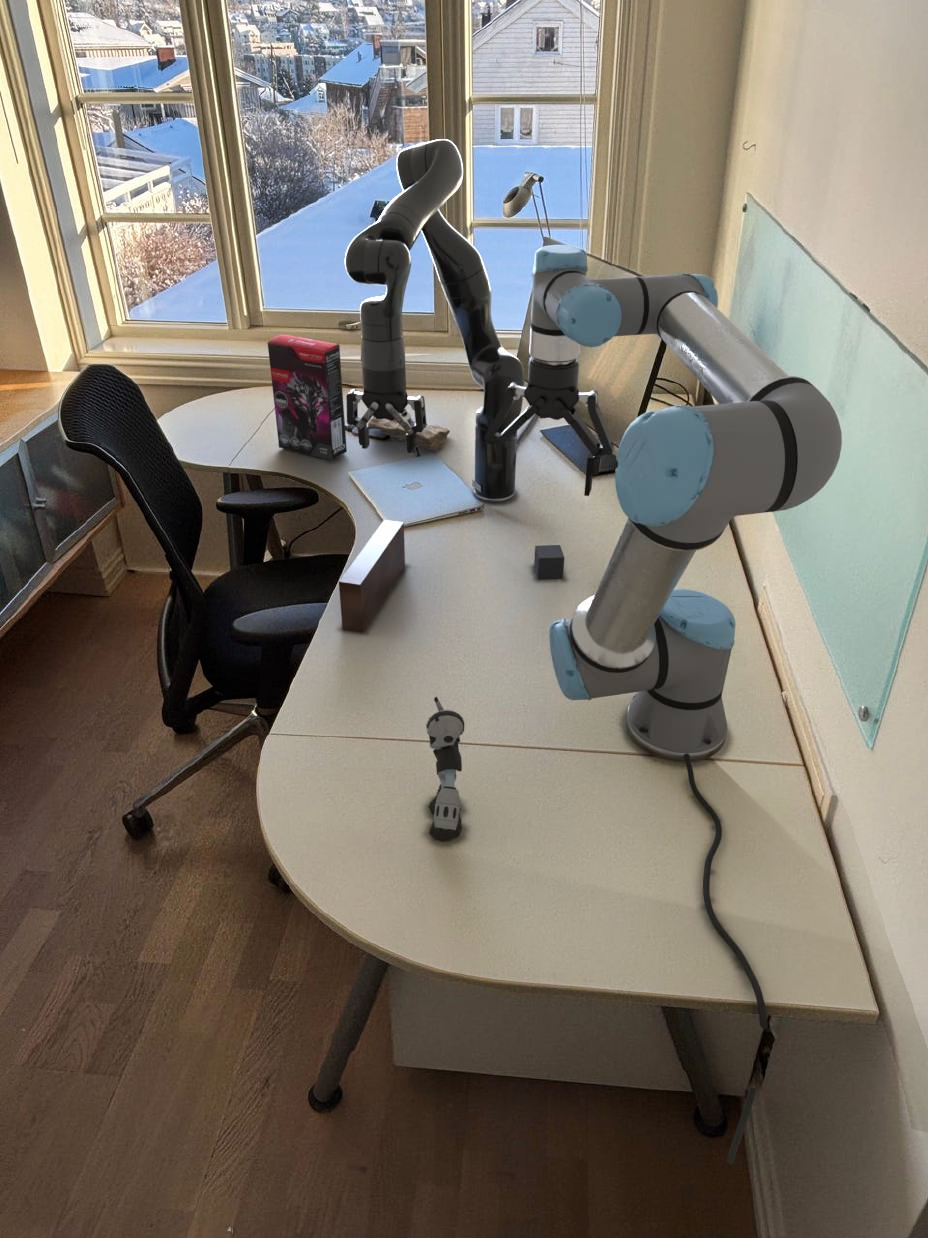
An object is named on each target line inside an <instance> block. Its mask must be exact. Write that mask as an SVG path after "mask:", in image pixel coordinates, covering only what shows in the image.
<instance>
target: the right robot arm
mask: <svg viewBox="0 0 928 1238" xmlns="http://www.w3.org/2000/svg"><path fill="white" fill-rule="evenodd" d="M533 258H534V259H533V267H532V272H531V277H532V284H531V287H532V288H531V311H530V329H529V348H528V354H529V356H530V358H529V359H528V368H527V369H528V372H527V385H526V386H524V387H522V386H518V385H517V383H515V382H512V383H511V384H510V385H509V387H508V388H507V391H506V398H505V402H504V403H503V405H502V407H501V409H500V410H499V412H498V414H497V416H496V417H495V419H494V421H493V423H492V424H491V426H490V428H489V430H488V431H487V433H486V435H485V440H486V441H491V442H493V443H494V444H495V445H496V463H497V464H502V469H501V485H504V486H506V484H507V482H508V480H509V471H510V445H511V442H509V441H507V440H508V439H509V438H510V437H511V436H512V435H513V434H514V433H515V432H516V431H517V432H518V431H519V430H520V428H521V427H523V426H524V424H526V422H528V421H530V420H531V419H532V417H533V416H534V414H536V415H537V416H536V417H539V419H552V420H553V421H554V420H556V421H560V420H562V419H564V420H565V422H566V423H567V424H568V425H569V426H571V428H572V429H573V431H574V432H575V434H576V435H577V436H578V438H579V439H580V440H581V441H582V443H583V444H584V446H585V447H586V449H587V450H588V451H589V452H588V455H587V461H586V471H585V480H584V481H585V483H584V494H583V495H584V497H590V494H591V492H592V487H593V478H594V477H593V476H596V477H597V476H598V475H599V474H600V471H601V467H602V466H601V465H602V457H603V456H605V455H606V456H610V455H612V454H613V452H614V449H615V442H614V440H613V437H612V435H611V432H610V430H609V428H608V425H607V422H606V420H605V418H604V415H603V412H602V410H601V408H600V406H599V393H598V391H597V390H596V389H592V390H590V392H580V391H579V387H578V383H579V370H580V360H579V359H578V358H579V357H580V355H581V346H583V347H587V348H596V347H601V346H602V345H604V344H606V343H607V342H609V341H611V340H612V339H613V338H615V337H626V336H627V337H628V336H642V335H643V336H644V335H657V336H658V337H659V338H660V340H662V341H663V342H664V343H665V345H667V346H668V348H670V350H671V351H672V352H673V353H674V354H675V356H676V357H678V359H679V360H680V361H681V362H682V363H683V365H684V366H685V367H686V368H687V369H688V370H689V371H690V372H691V373H692V375H693V376H694V377H695V378H696V379H697V381H699V383H700V384H701V385H702V386H703V387H704V389H705V390H707V392H708V393H709V394H710V395H711V396H712V398H713V399H714V400H715V401H716V402H717V403H718V404H705V405H694V406H691V405H687V404H678V405H677V404H675V405H671V406H668V407H666V408H662V409H653V410H649V411H647V412H644V413H642V414H640V415H639V416H638V417H636V418H635V419H634V420H633V421H632V422H631V423H630V424H629V426H628V427H627V428H626V430H625V432H624V433H623V436H621V437H622V438H621V440H620V443H619V446H618V449H617V454H616V458H615V459H616V461H617V467H616V468H615V469H614V471H615V472H614V482H615V491H616V495H617V500H618V503H619V505H620V507H621V509H622V511H623V513H624V514H625V516H626V517H627V520H626V522H625V525H624V526H623V529H622V532H621V534H620V536H619V538H618V541H617V543H616V545H615V547H614V550H613V552H612V554H611V557H610V559H609V561H608V564H607V566H606V567H605V571H604V573H603V575H602V577H601V580H600V581H599V584H598V586H597V589H596V590H595V594H594V595H592V596H590V597H587V598H586V599H585V600H583V602H581V603H580V604H579V605H578V606H577V608H576V609H575V612H574V613H573V615H572V618H568V619H566V618H565V617H564V618H560V619H557V620H555V621H553V622H552V623H551V624H550V626H549V631H548V632H549V634H548V635H549V639H548V640H549V650H550V656H551V662H552V666H553V671H554V675H555V678H556V682H557V684H558V687H559V689H560V691H561V693H562V695H563V696H564V697H565V698H567V699H568V700H570V701H583V700H584V701H585V700H587V701H591V700H592V699H599V698H606V697H613V696H620V695H626V694H632V693H636V694H634V695H633V697H632V698H631V700H630V701H631V702H630V704H629V705H628V707H627V711H626V719H625V728H626V732H627V734H628V736H629V738H630V739H631V741H632V742H634V744H636V745H637V746H638V747H639V748H640V749H641V750H643V751H645V752H646V753H648V754H650V755H651V756H654V757H656V758H659V759H662V760H666V761H670V762H675V763H684V764H685V766H686V770H687V775H688V783H689V786H690V789H691V792H692V793H693V795H694V797H695V799H696V800H697V801H698V802H699V804H700V805H701V806H702V808H703V809H704V810H705V811H706V812H707V813H708V815H709V816H710V817H711V819H712V821H713V823H714V827H715V828H714V829H715V835H714V839H713V842H712V844H711V846H710V848H709V850H708V852H707V854H706V857H705V860H704V866H703V867H704V868H703V875H702V876H703V877H702V896H703V897H702V898H703V902H704V907H705V909H706V913H707V916H708V918H709V920H710V923H711V924H712V926H713V927H714V929H715V930H716V932H717V933H718V935H719V936H720V937H721V938H722V939H723V942H725V943H726V944H727V945H728V947H729V948H730V950H731V951H732V952H733V954H734V955H735V956H736V958H737V959H738V961H739V963H740V965H741V967H742V968H743V971H744V973H745V975H746V976H747V978H748V980H749V982H750V986H751V987H752V990H753V993H754V996H755V1000H756V1005H757V1010H758V1017H759V1018H758V1019H759V1026H760V1027H761V1029H762V1030H767V1029H768V1026H769V1025H768V1015H767V1008H766V1003H765V999H764V995H763V992H762V989H761V986H760V984H759V982H758V979H757V977H756V975H755V973H754V971H753V969H752V967H751V965H750V963H749V961H748V959H747V957H746V955H745V954H744V952H743V951H742V950H741V948H740V947H739V946H738V944H737V943H736V942H735V941H734V939H733V938H732V937H731V936H730V934H728V931H726V930H725V928H724V927H723V926H722V924H721V922H720V920H718V917H717V915H716V912H715V910H714V907H713V904H712V900H711V891H710V884H711V872H712V865H713V860H714V857H715V855H716V852H717V851H718V849H719V846H720V844H721V842H722V837H723V827H722V823H721V820H720V818H719V816H718V814H717V813H716V811H715V810H714V809H713V807H712V806H711V805H710V803H708V801H707V800H706V799H705V798H704V797H703V795H702V794H701V792H700V791H699V789H698V787H697V784H696V779H695V773H694V769H693V765H692V763H694V762H700V761H703V760H706V759H709V758H711V757H714V755H716V754H718V752H720V751H721V750H722V748H723V747H724V744H725V743H726V740H727V739H726V738H727V734H728V721H727V716H726V712H725V708H724V707H725V706H724V701H723V692H724V686H725V682H726V678H727V674H728V673H727V672H728V668H729V664H730V659H731V654H732V651H733V650H732V649H733V648H734V645H735V637H736V636H735V635H736V618H735V616H734V614H733V612H732V611H731V609H730V608H729V607H728V606H727V605H726V604H725V603H723V602H722V601H720V600H719V599H717V598H715V596H712V595H709V594H707V593H704V592H701V591H699V590H698V591H697V590H694V589H689V588H688V589H687V588H676V587H677V585H678V583H679V582H680V580H681V577H682V576H683V574H684V573H685V571H686V570H687V568H688V566H689V564H690V562H691V561H692V558H693V557H694V555H695V554H696V552H697V551H699V550H702V549H706V548H708V547H710V546H711V545H713V544H714V543H715V542H717V541H718V539H720V537H721V536H722V535H723V533H724V531H725V530H726V528H727V527H728V525H729V523H730V522H731V520H732V519H733V518H735V517H738V516H747V515H755V514H756V515H757V514H764V513H774V512H780V511H787V510H791V509H793V508H796V507H798V506H800V505H802V504H804V503H805V502H808V501H809V500H810V499H812V498H813V497H815V495H817V494H818V493H819V492H820V491H821V490H822V489H823V488H824V487H825V486H826V485H827V483H828V482H829V481H830V479H831V477H832V476H833V475H834V473H835V471H836V468H837V465H838V463H839V461H840V459H841V451H842V445H843V440H842V439H843V438H842V437H843V435H842V434H843V433H842V428H841V425H840V424H841V423H840V419H839V418H838V415H837V412H836V409H834V407H833V406H832V404H831V402H830V401H829V399H827V397H826V396H824V394H823V393H822V392H821V391H820V390H819V389H818V388H817V387H816V386H815V385H813V383H811V382H810V381H809V380H807V379H805V378H804V377H802V376H801V377H800V376H797V375H789V374H787V373H786V372H785V370H783V368H781V367H780V366H779V365H778V364H777V363H776V362H775V361H774V360H773V359H772V358H771V357H770V356H769V355H768V354H767V353H765V352H764V351H763V350H762V349H761V348H760V347H759V346H758V345H757V344H756V343H754V341H752V340H751V339H750V338H749V337H748V336H747V335H746V334H745V333H744V332H743V331H742V330H741V329H740V328H738V326H736V324H734V323H733V322H732V320H730V318H728V317H727V316H726V315H725V314H724V313H723V312H722V311H721V310H720V309H718V308H719V307H718V306H719V295H718V294H719V293H718V290H717V288H715V282H714V280H713V279H712V277H710V276H709V275H707V274H704V273H703V274H702V273H701V274H700V273H688V272H683V273H682V272H680V273H676V274H664V275H663V274H662V275H646V276H627V277H606V278H591V277H589V276H588V275H587V273H588V271H589V266H588V253H587V251H586V250H585V249H584V248H582V247H580V246H576V245H569V244H552V245H545V246H541V247H539V248H538V249H537V250H536V252H535V253H534V257H533ZM522 395H523V398H525V400H526V402H527V404H528V405H527V407H526V408H525V409H524V410H523V411H521V413H520V415H519V416H518V417H517V418H516V419H515V420H514V421H513V422H512V423H511V424H510V425H509V426H508V427H507V428H506V429H505V430H504V431H503V432H502V433H501V434H500V433H497V430H498V428H499V426H500V425H501V423H502V421H503V419H504V418H505V416H506V414H507V413H508V411H509V409H510V407H511V406H512V404H513V402H514V400H518V399H519V398H520V396H522ZM578 402H581V403H582V405H583V407H584V408H587V412H588V415H589V418H590V420H591V423H592V426H593V427H594V430H595V432H596V435H597V437H598V438H597V437H596V435H594V433H593V431H592V430H591V429H590V427H589V426H588V425H587V423H586V422H585V421H584V420H583V418H582V416H581V415H580V413H579V411H578V409H577V408H576V407H575V406H576V405H577V404H578ZM756 1094H757V1088H756V1087H751V1086H749V1088H748V1090H747V1094H746V1099H745V1102H744V1105H743V1109H742V1112H741V1115H740V1118H739V1120H738V1123H737V1126H736V1129H735V1133H734V1134H733V1139H732V1142H731V1144H730V1148H729V1150H728V1154H727V1158H726V1163H727V1164H728V1165H730V1166H731V1165H733V1164H734V1162H735V1159H736V1155H737V1153H738V1149H739V1146H740V1143H741V1140H742V1137H743V1135H744V1132H745V1129H746V1126H747V1123H748V1120H749V1118H750V1115H751V1112H752V1108H753V1104H754V1100H755V1098H756Z"/></svg>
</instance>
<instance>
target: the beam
mask: <svg viewBox="0 0 928 1238" xmlns="http://www.w3.org/2000/svg"><path fill="white" fill-rule="evenodd" d="M378 526H379V527H377V529H376V530H375V531H374V533H373V534H372V536H370V538H369V540H368V541H367V542H366V544H365V545H364V546H363V548H362V549H361V551H360V552H359V553H358V555H357V556H356V557H355V558H354V560H353V561H352V563H351V564H350V566H349V567H348V568H347V570H346V571H345V572H344V574H343V575H342V576H341V577H340V579H339V580H338V589H339V602H340V603H339V604H340V617H341V629H342V630H346V631H353V632H358V633H364V632H365V630H366V629H367V627H368V626H369V624H371V623H370V622H371V621H372V620H373V618H374V616H375V615H376V614H377V611H378V610H379V609H380V607H381V605H382V604H383V602H384V601H385V599H386V597H387V596H388V595H389V593H390V591H391V590H392V588H393V587H394V585H395V584H396V582H397V581H398V579H399V577H400V576H401V574H402V572H403V571H404V569H405V568H406V549H405V522H403V521H396V520H391V519H384V520H382V522H381V523H380V525H378Z"/></svg>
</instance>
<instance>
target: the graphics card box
mask: <svg viewBox="0 0 928 1238" xmlns="http://www.w3.org/2000/svg"><path fill="white" fill-rule="evenodd" d="M340 347H341V346H340V343H335V342H333V343H332V342H328V341H322V340H317V339H311V338H306V337H300V336H295V335H289V334H285V333H282V334H279V335H277V336H274V337H273V338H271V339H270V340H268V341H267V351H268V359H269V367H270V369H269V370H270V377H271V378H270V379H271V385H272V386H271V387H272V395H273V403H274V412H275V413H274V414H275V423H276V433H277V441H278V442H277V443H278V448H279V449H283V450H287V451H288V450H289V451H292V452H297V453H301V454H305V455H309V456H314V457H317V458H322V459H326V460H330V461H333V460H335V459H337V458H339V457H340V456H342V455H344V454H345V453H347V451H348V449H347V447H348V446H347V434H346V420H345V407H344V406H345V405H344V393H343V380H342V364H341V363H342V362H341V349H340Z"/></svg>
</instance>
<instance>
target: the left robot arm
mask: <svg viewBox="0 0 928 1238" xmlns="http://www.w3.org/2000/svg"><path fill="white" fill-rule="evenodd" d="M463 165H464V164H463V160H462V157H461V154H460V151H459V149H458V147H457V146H456V145H455V144H454V143H453V141H451V140H449V139H444V138H442V139H435V140H431V141H427V142H422V143H419V144H415V145H411V146H409V147H406V148H403V149H402V150H400V151H399V152H398V154H397V157H396V172H397V177H398V180H399V184H400V186H401V189H402V192H401V193H399V194H398V195H397V196H395V197H394V198H393V199H392V200H391V201H390V202H389V203H388V204H387V205H386V206H385V208H384V210H383V211H382V213H381V215H380V216H379V217H378V220H377V221H376V222H374V223H373V224H371V225H369V226H368V227H367V228H365V229H364V230H363V231H361V232H360V233H358V234H357V235H356V236H355V237H354V238H353V239H352V240H351V242H350V243H349V245H348V246H347V249H346V252H345V255H344V256H345V258H344V266H345V270H346V273H347V275H348V277H349V278H350V279H351V280H352V281H353V282H355V283H358V284H361V285H371V286H382V287H384V286H385V287H386V292H385V295H382V296H375V297H370V298H367V299H365V300H364V301H362V302H361V304H360V307H359V318H360V332H361V334H360V335H361V342H360V362H361V373H362V374H361V375H362V387H363V392H360V391H358V390H357V389H356V388H352V389H351V390H350V391H349V392H348V393H347V394H346V398H345V399H346V424H347V425H348V426H353V427H355V428H356V429H357V435H358V436H357V437H358V444H359V446H361V449H364V450H365V449H366V450H367V449H368V448H369V446H370V445H371V444H370V429H369V426H368V423H369V421H370V419H371V417H373V416H374V417H376V419H387V420H394V419H395V420H396V421H397V422H398V424H399V425H400V426H402V427H403V428H404V429H405V431H406V432H407V434H406V443H405V444H406V454H412V453H413V451H415V450H416V448H417V447H418V446H417V434H416V433H417V432H422V431H423V430H424V428H425V427H426V425H427V424H428V422H427V415H426V414H427V413H426V401H425V396H424V395H422V394H420V395H418V396H416V397H415V396H409V395H408V392H407V373H406V372H407V371H406V347H405V341H404V334H403V333H404V331H403V329H404V328H403V307H404V299H405V293H406V290H407V284H408V281H409V277H410V274H411V267H412V256H411V253H410V251H411V250H412V249H413V247H414V245H415V243H416V241H417V239H418V238H419V236H420V234H421V233H422V235H423V238H424V241H425V243H426V246H427V248H428V251H429V254H430V257H431V259H432V262H433V265H434V267H435V271H436V275H437V277H438V280H439V283H440V285H441V288H442V291H443V294H444V297H445V299H446V301H447V303H448V306H449V309H450V311H451V315H452V316H453V319H454V321H455V324H456V326H457V328H458V331H459V334H460V336H461V340H462V343H463V346H464V350H465V354H466V358H467V363H468V368H469V371H470V375H471V377H472V379H473V381H474V382H475V384H476V385H478V386H479V387H480V388H481V389H482V390H483V405H482V406H480V407H478V409H476V412H475V427H474V429H475V431H474V433H475V434H474V435H475V436H474V479H472V481H471V486H472V487H473V496H474V497H475V498H476V499H477V500H478V501H480V502H483V503H488V504H503V503H507V502H510V501H512V500H513V499H514V498H515V497H516V476H517V475H516V473H517V472H516V471H517V451H518V449H517V447H518V444H519V442H520V441H521V439H522V438H523V436H524V435H525V433H526V432H527V431H528V429H529V428H530V427H531V425H532V424H533V422H534V421H535V419H536V417H538V416H537V415H536V414H534V415H533V416H532V417H531V418H530V419H529V420H528V423H527V424H526V426H525V427H524V428H523V430H522V431H521V433H520V434H519V435H518V430H517V431H516V432H515V433H514V434H513V435H512V436H511V437H510V438H509V439H508V440H507V441H509V442H511V445H510V471H509V480H508V482H507V484H506V486H504V485H501V469H502V464H497V463H496V445H495V444H494V443H493V442H491V441H486V440H485V435H486V433H487V431H488V430H489V428H490V426H491V424H492V423H493V421H494V419H495V417H496V416H497V414H498V412H499V410H500V409H501V407H502V405H503V403H504V402H505V398H506V391H507V388H508V387H509V385H510V384H511V383H512V382H515V383H517V385H518V386H522V387H525V370H524V366H523V363H522V361H521V360H520V359H519V358H518V357H517V356H515V355H513V354H512V353H510V352H509V351H507V350H506V349H505V348H504V346H503V345H502V343H501V341H500V339H499V336H498V333H497V332H496V329H495V326H494V323H493V319H492V288H491V287H492V286H491V284H490V279H489V276H488V273H487V270H486V267H485V264H484V261H483V259H482V256H481V254H480V252H479V251H478V250H477V249H476V247H475V246H474V244H472V243H471V242H470V241H469V240H468V239H467V238H465V236H463V235H462V234H461V233H460V232H458V231H457V230H456V229H455V228H454V227H453V226H452V225H451V224H450V223H449V222H448V221H447V220H446V218H445V217H444V216H443V214H442V213H441V211H440V208H441V207H443V205H444V204H445V203H446V202H447V201H448V200H449V198H451V197H452V196H453V195H454V194H455V193H456V192H457V191H458V190H459V188H460V186H461V184H462V182H463V177H464V166H463ZM361 401H362V403H363V404H364V406H365V407H366V408H367V410H366V411H365V413H364V414H363V415H362V417H359V410H358V409H359V406H358V404H359V403H361ZM523 401H524V395H522V396H520V398H519V399H518V400H514V402H513V404H512V406H511V407H510V409H509V411H508V413H507V414H506V416H505V418H504V419H503V421H502V423H501V425H500V426H499V428H498V430H497V433H500V434H501V433H502V432H503V431H504V430H505V429H506V428H507V427H508V426H509V425H510V424H511V423H512V422H513V421H514V420H515V419H516V418H517V417H518V416H519V415H520V414H521V413H522V410H523ZM408 405H409V406H410V408H411V409H412V410H413V411H414V420H413V418H412V415H411V414H410V412H409V411H408V409H407V408H406V407H407V406H408ZM414 421H415V422H416V424H415V422H414Z"/></svg>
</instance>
